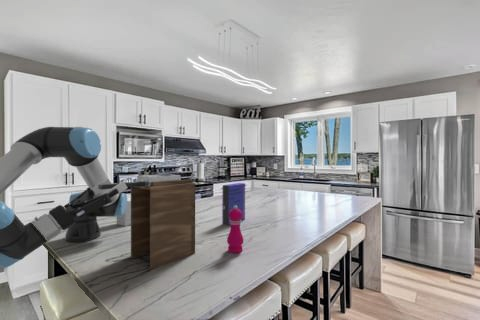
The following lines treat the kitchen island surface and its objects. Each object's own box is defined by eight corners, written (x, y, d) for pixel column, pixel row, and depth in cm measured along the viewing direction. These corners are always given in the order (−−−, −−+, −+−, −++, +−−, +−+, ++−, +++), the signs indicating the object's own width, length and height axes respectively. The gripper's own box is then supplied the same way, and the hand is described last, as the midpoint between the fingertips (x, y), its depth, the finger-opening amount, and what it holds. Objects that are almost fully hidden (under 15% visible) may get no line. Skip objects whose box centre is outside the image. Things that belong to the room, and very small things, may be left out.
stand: (130, 256, 102) (130, 180, 101) (172, 243, 117) (173, 177, 116) (151, 268, 91) (151, 183, 90) (195, 253, 105) (195, 179, 105)
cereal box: (239, 218, 165) (239, 182, 164) (244, 219, 162) (245, 183, 161) (222, 224, 150) (222, 185, 150) (228, 225, 148) (228, 185, 147)
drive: (94, 187, 88) (94, 175, 88) (167, 181, 110) (167, 172, 110) (105, 190, 82) (105, 177, 82) (180, 183, 104) (180, 173, 103)
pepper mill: (237, 255, 104) (238, 207, 103) (223, 251, 108) (224, 205, 107) (246, 249, 110) (246, 204, 110) (233, 246, 114) (233, 203, 113)
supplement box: (138, 223, 151) (138, 198, 151) (125, 226, 144) (125, 201, 143) (129, 221, 156) (129, 197, 156) (116, 224, 149) (116, 199, 148)
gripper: (57, 219, 66) (126, 176, 80) (39, 206, 83) (99, 172, 96) (74, 240, 69) (138, 195, 82) (53, 223, 86) (109, 188, 99)
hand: (117, 183), depth 89 cm, fingers open, 13 cm apart
